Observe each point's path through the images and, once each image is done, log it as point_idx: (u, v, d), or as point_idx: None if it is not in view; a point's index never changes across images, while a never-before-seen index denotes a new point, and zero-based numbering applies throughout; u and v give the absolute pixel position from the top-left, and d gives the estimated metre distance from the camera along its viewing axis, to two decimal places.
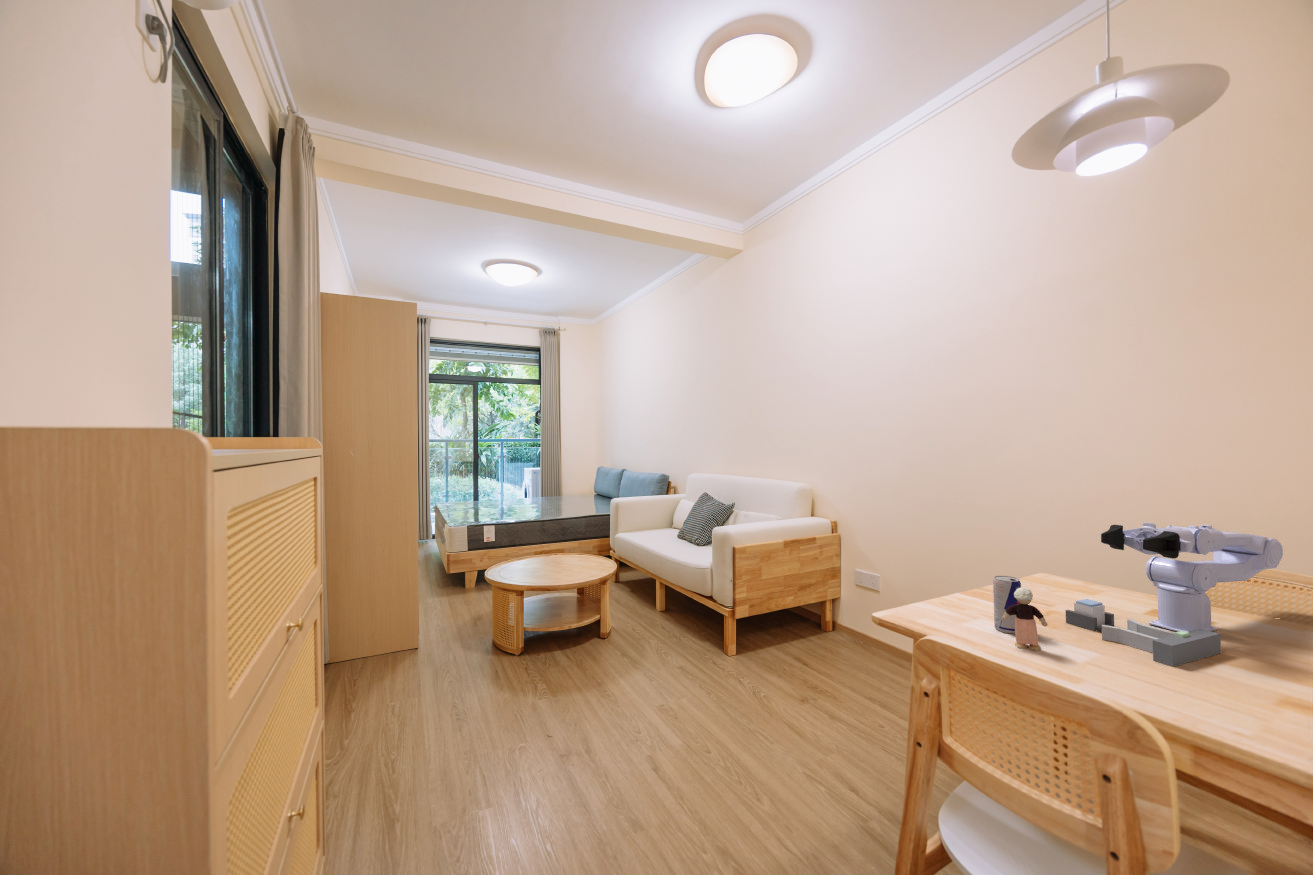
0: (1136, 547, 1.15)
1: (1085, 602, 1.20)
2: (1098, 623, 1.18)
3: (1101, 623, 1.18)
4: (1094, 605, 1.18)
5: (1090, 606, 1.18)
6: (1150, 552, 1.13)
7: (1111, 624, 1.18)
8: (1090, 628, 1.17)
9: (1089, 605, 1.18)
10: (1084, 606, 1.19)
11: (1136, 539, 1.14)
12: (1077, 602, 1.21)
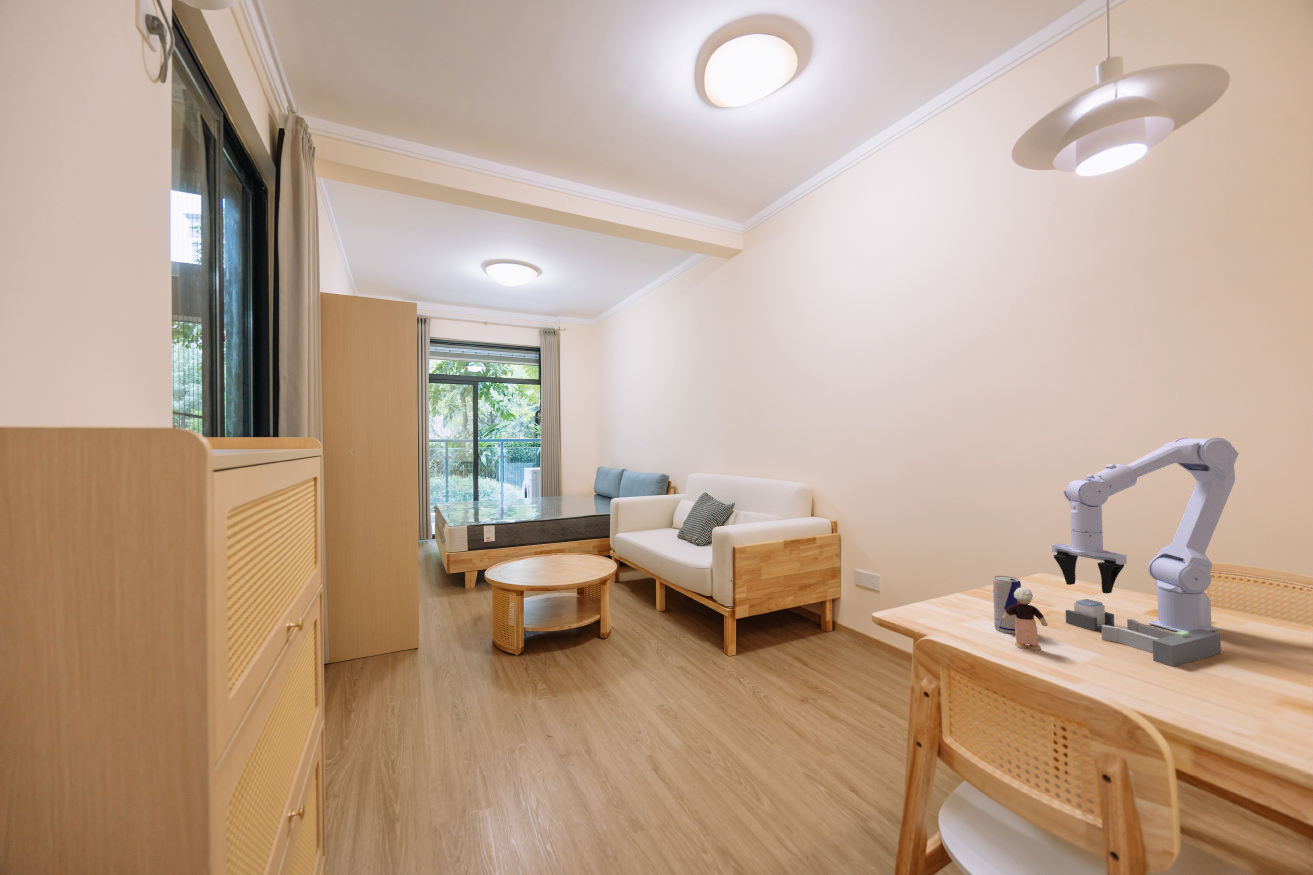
0: None
1: (1085, 602, 1.20)
2: (1098, 623, 1.18)
3: (1101, 623, 1.18)
4: (1094, 605, 1.18)
5: (1090, 606, 1.18)
6: None
7: (1111, 624, 1.18)
8: (1090, 628, 1.17)
9: (1089, 605, 1.18)
10: (1084, 606, 1.19)
11: None
12: (1077, 602, 1.21)
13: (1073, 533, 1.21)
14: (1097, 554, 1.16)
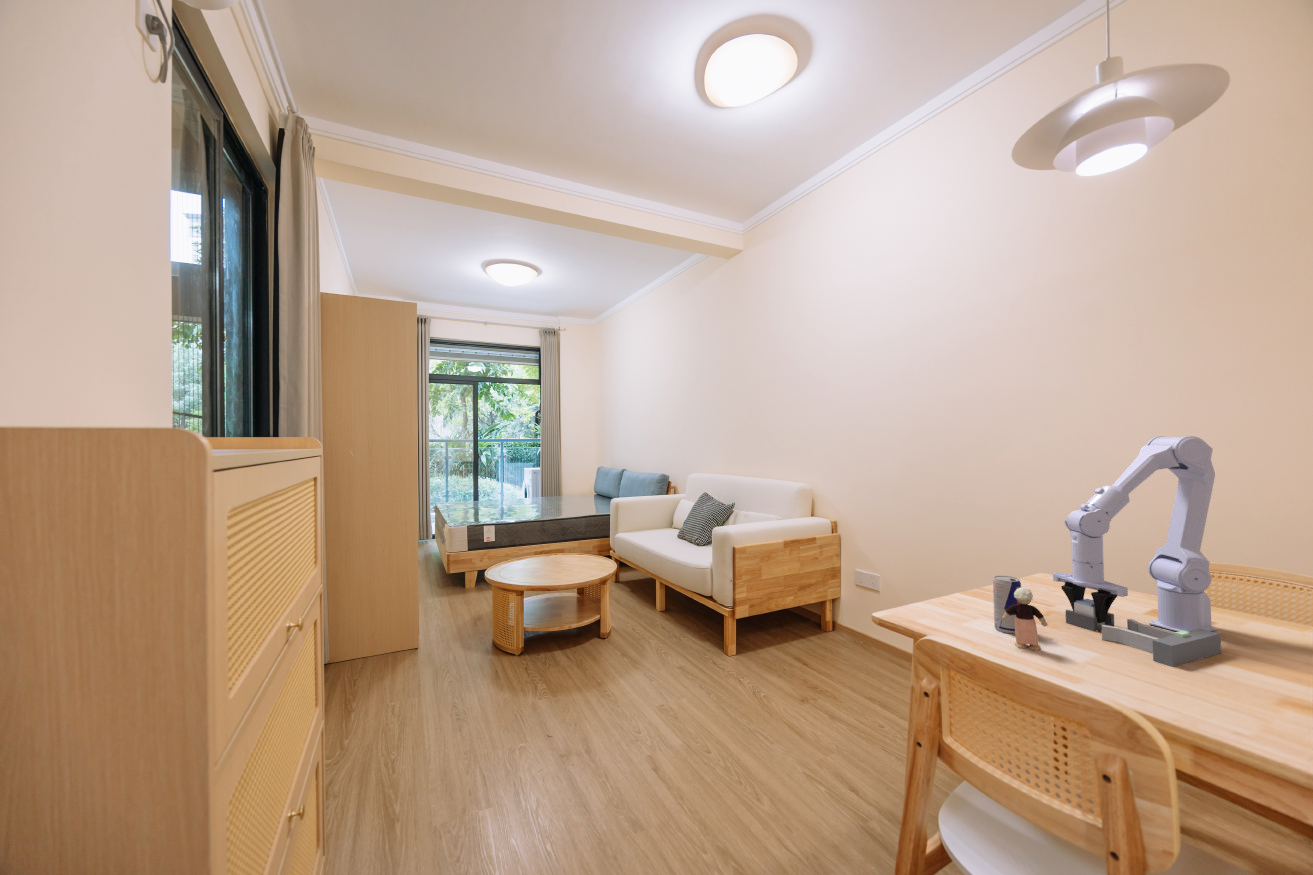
0: None
1: (1085, 602, 1.20)
2: (1098, 623, 1.18)
3: (1101, 623, 1.18)
4: (1094, 605, 1.18)
5: (1090, 606, 1.18)
6: None
7: (1111, 624, 1.18)
8: (1090, 628, 1.17)
9: (1089, 605, 1.18)
10: (1084, 606, 1.19)
11: (1081, 586, 1.21)
12: (1077, 602, 1.21)
13: (1074, 563, 1.20)
14: (1098, 585, 1.16)
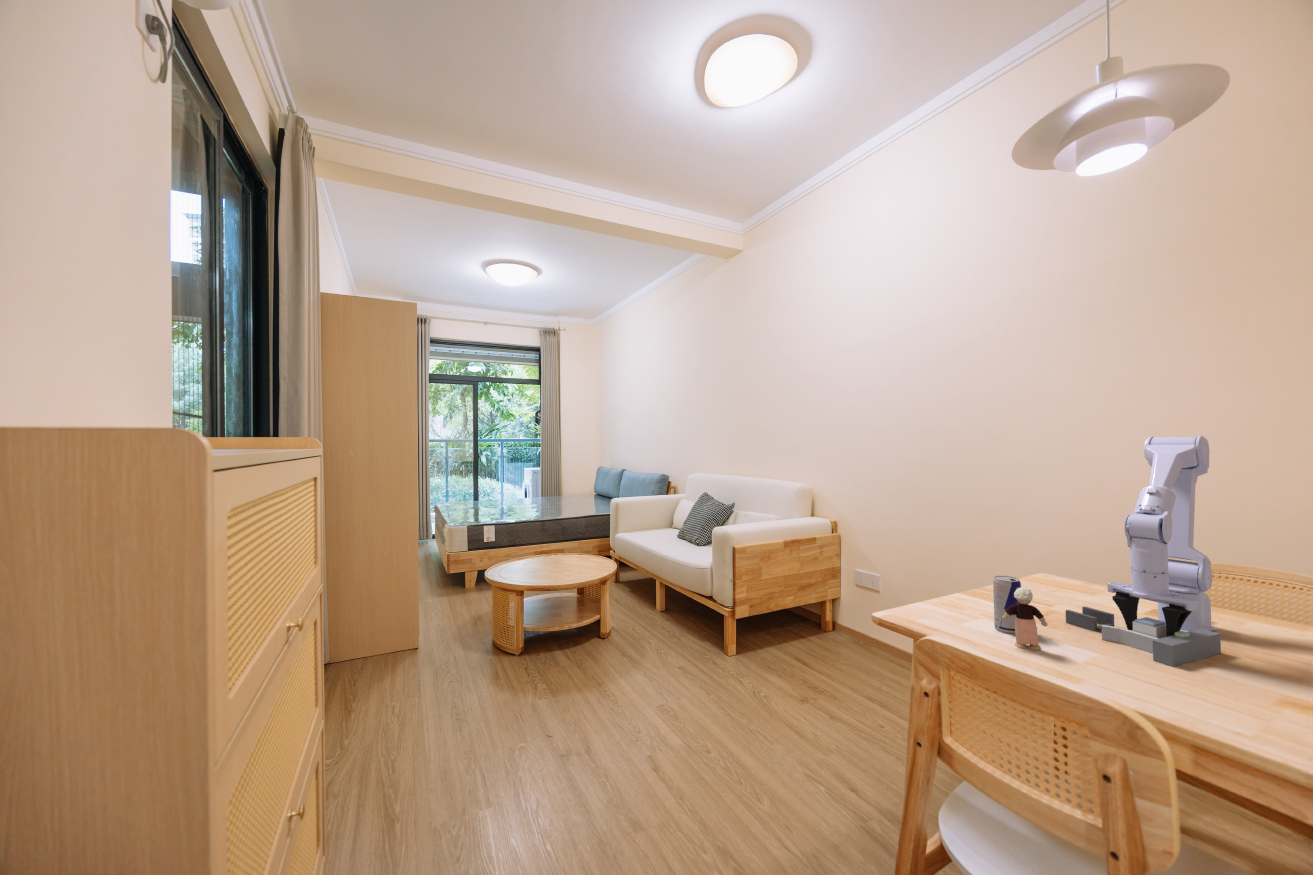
0: None
1: (1146, 621, 1.07)
2: None
3: None
4: (1157, 625, 1.05)
5: (1152, 626, 1.05)
6: None
7: (1111, 624, 1.18)
8: (1090, 628, 1.17)
9: (1151, 625, 1.05)
10: (1145, 626, 1.06)
11: None
12: (1136, 621, 1.08)
13: (1134, 573, 1.08)
14: (1164, 598, 1.04)
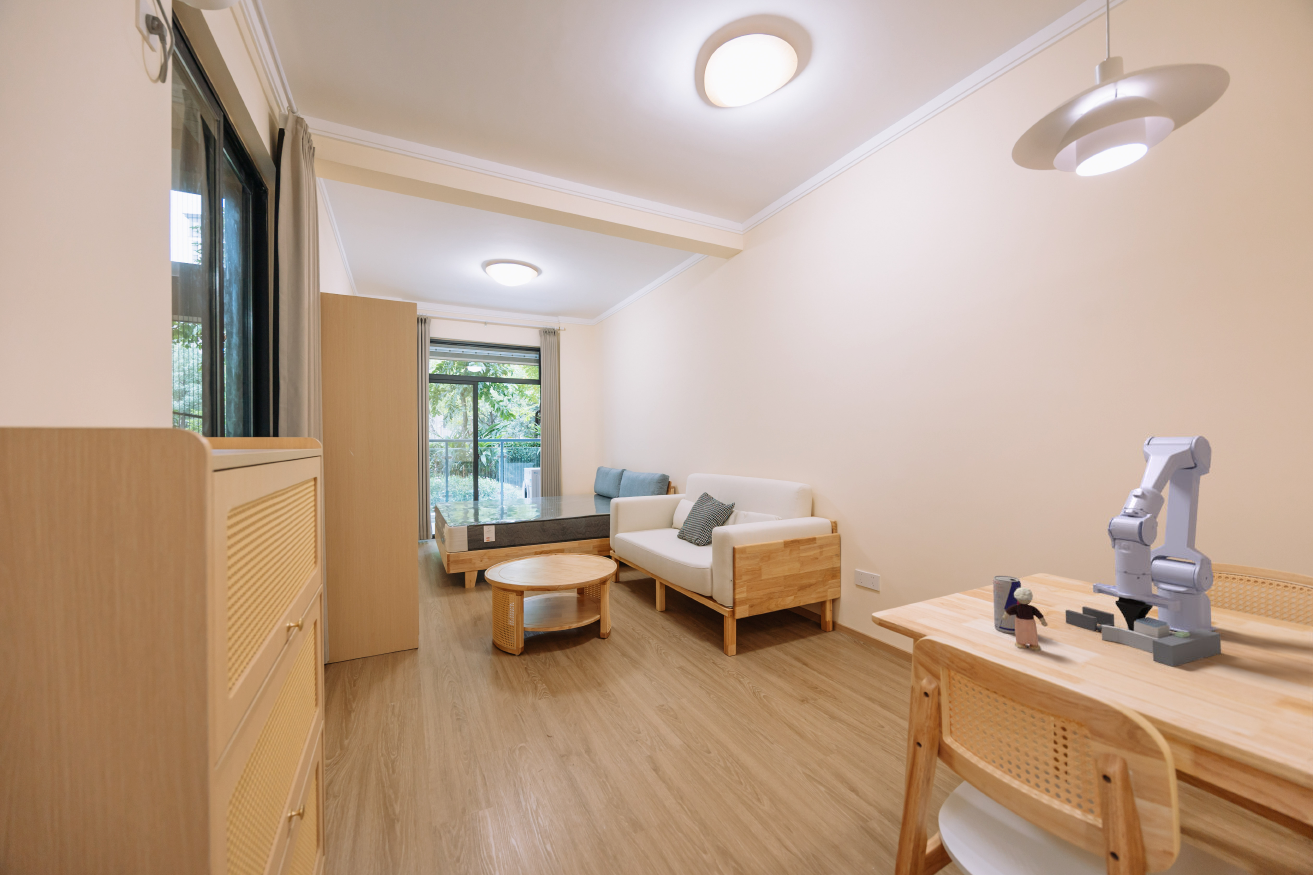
0: None
1: (1148, 621, 1.06)
2: None
3: None
4: (1159, 625, 1.05)
5: (1154, 626, 1.05)
6: None
7: (1111, 624, 1.18)
8: (1090, 628, 1.17)
9: (1153, 625, 1.05)
10: (1147, 626, 1.06)
11: None
12: (1138, 621, 1.07)
13: (1118, 574, 1.10)
14: (1146, 598, 1.06)
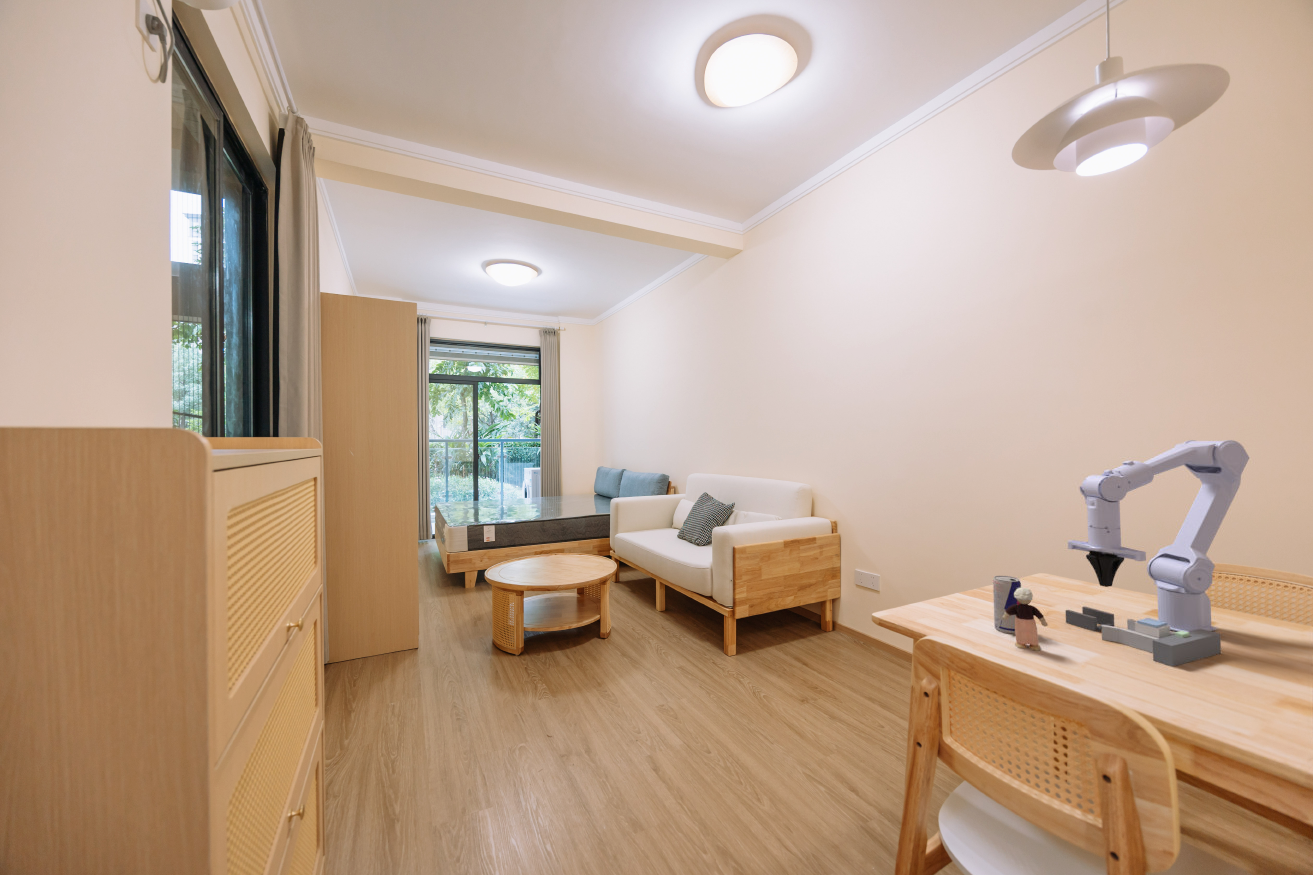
0: None
1: (1148, 622, 1.06)
2: None
3: None
4: (1159, 626, 1.05)
5: (1155, 627, 1.05)
6: None
7: (1111, 624, 1.18)
8: (1090, 628, 1.17)
9: (1154, 625, 1.05)
10: (1147, 627, 1.06)
11: None
12: (1139, 622, 1.07)
13: (1090, 529, 1.18)
14: (1115, 551, 1.14)
